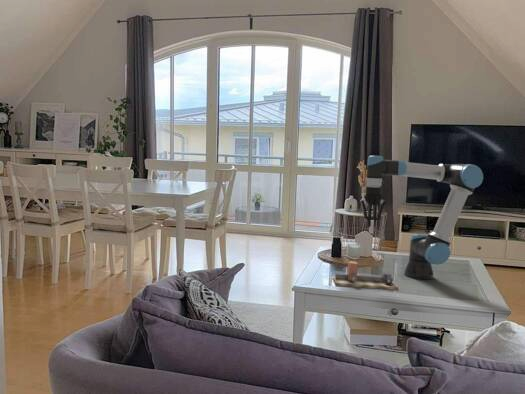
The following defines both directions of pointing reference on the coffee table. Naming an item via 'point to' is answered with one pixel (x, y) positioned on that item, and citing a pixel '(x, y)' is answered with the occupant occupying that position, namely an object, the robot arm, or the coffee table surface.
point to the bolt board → (365, 284)
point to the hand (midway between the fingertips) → (371, 233)
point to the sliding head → (352, 270)
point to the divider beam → (368, 278)
